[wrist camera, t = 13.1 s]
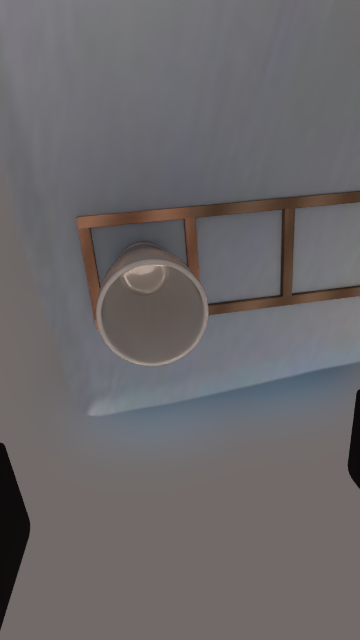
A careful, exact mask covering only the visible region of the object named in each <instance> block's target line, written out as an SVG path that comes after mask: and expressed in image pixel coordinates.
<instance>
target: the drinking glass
mask: <svg viewBox="0 0 360 640" xmlns="http://www.w3.org/2000/svg"><path fill="white" fill-rule="evenodd" d="M208 313H209V310H208V301H207V297H206V294H205V291H204V289H203V287H202V286H201V284H200V282H199V281H198V279H197V278H196V276H195V275H194V273H193V272H192V271H191V270H190V268H189V267H188V266H187V265H186V264H185V263H184V262H183V261H181V260H180V259H179V258H177V257H176V256H175V255H173V254H171V253H169V252H167V251H165V250H162V249H161V248H160V247H158V246H157V245H155V244H152V243H148V242H139V243H135V244H133V245H130V246H129V247H127V248H126V249H125V250H124V251H123V252H122V253H121V255H120V257H119V258H118V259H117V260H116V261H115V262H114V264H113V265H112V266H111V267H110V269H109V270H108V272H107V273H106V275H105V277H104V279H103V282H102V284H101V287H100V291H99V295H98V301H97V307H96V320H97V325H98V329H99V332H100V334H101V336H102V338H103V340H104V341H105V343H106V344H107V345H108V347H109V348H110V349H111V350H112V351H113V352H114V353H116V354H117V355H118V356H120V357H121V358H123V359H125V360H127V361H129V362H131V363H134V364H138V365H144V366H159V365H164V364H168V363H171V362H174V361H176V360H178V359H180V358H182V357H183V356H185V355H186V354H188V353H189V352H190V351H191V350H192V349H193V348H194V347H195V346H196V345H197V344H198V342H199V341H200V339H201V338H202V336H203V334H204V332H205V329H206V326H207V322H208Z"/></svg>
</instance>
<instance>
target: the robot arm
mask: <svg viewBox="0 0 360 640" xmlns="http://www.w3.org/2000/svg"><path fill="white" fill-rule="evenodd" d="M348 471H349V474H350V476H351V478H352V479H353V481H354V482H355V483H356V484H357V486H358V487H359V488H360V390H358V391H357V394H356V403H355V411H354V419H353V427H352V435H351V443H350V451H349V459H348ZM29 533H30V521H29V517H28V514H27V511H26V508H25V505H24V502H23V499H22V496H21V493H20V490H19V487H18V484H17V481H16V478H15V475H14V472H13V469H12V466H11V463H10V460H9V457H8V454H7V451H6V448H5V445H4V444H3V443H0V629H1V626H2V623H3V619H4V616H5V613H6V609H7V606H8V603H9V600H10V597H11V593H12V590H13V587H14V584H15V580H16V577H17V574H18V570H19V567H20V564H21V561H22V557H23V554H24V551H25V548H26V544H27V541H28V538H29Z"/></svg>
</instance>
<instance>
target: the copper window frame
mask: <svg viewBox="0 0 360 640" xmlns="http://www.w3.org/2000/svg"><path fill="white" fill-rule="evenodd" d="M355 202H360V191H359V192H348V193H337V194H326V195H315V196H304V197H293V198H282V199H271V200H260V201H249V202H238V203H227V204H216V205H205V206H194V207H183V208H172V209H161V210H150V211H139V212H127V213H116V214H105V215H94V216H83V217H76V220H77V225H78V231H79V236H80V242H81V247H82V253H83V258H84V264H85V269H86V275H87V280H88V286H89V291H90V297H91V302H92V308H93V313H94V319H95V324H96V329H98V325H97V320H96V307H97V301H98V295H99V291H100V284H99V278H98V272H97V266H96V260H95V254H94V249H93V243H92V237H91V231H90V228H91V227H101V226H112V225H123V224H133V223H144V222H154V221H165V220H175V219H184V223H185V237H186V250H187V264H188V267H189V268H190V270H191V271H192V272H193V273H194V275H195V276H196V278H197V279H198V281H199V267H198V251H197V235H196V219H195V218H197V217H207V216H218V215H228V214H239V213H250V212H260V211H271V210H281V209H283V214H282V256H281V295H279V296H271V297H263V298H255V299H247V300H238V301H230V302H222V303H214V304H208V310H209V313H208V315H212V314H220V313H228V312H236V311H244V310H252V309H260V308H268V307H276V306H284V305H292V304H299V303H307V302H315V301H323V300H331V299H339V298H347V297H355V296H360V286H352V287H344V288H336V289H328V290H320V291H312V292H304V293H295V294H292V275H293V247H294V219H295V208H302V207H313V206H324V205H334V204H345V203H355Z"/></svg>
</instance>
